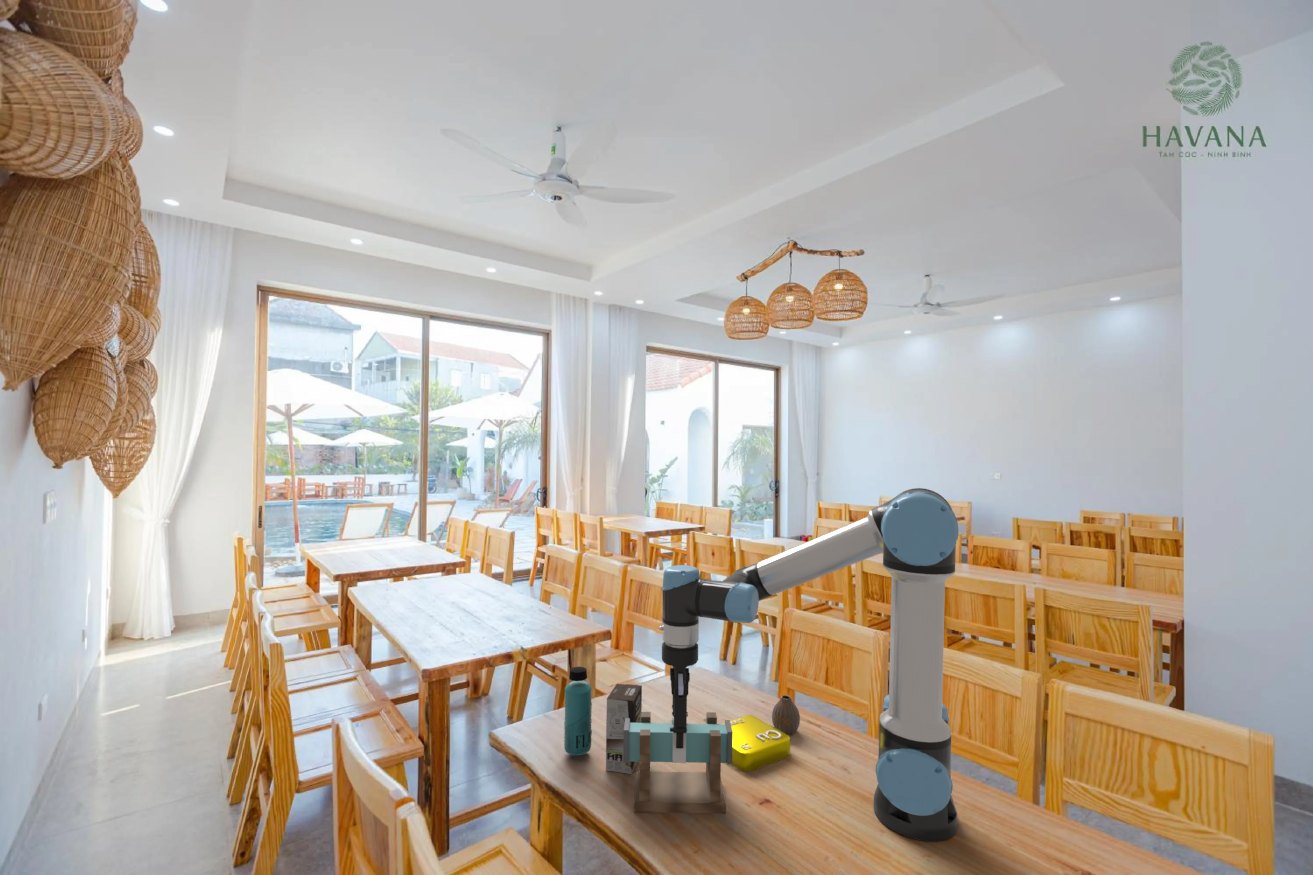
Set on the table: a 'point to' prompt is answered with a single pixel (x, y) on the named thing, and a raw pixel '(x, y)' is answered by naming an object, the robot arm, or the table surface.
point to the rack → (680, 781)
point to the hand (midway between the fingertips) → (678, 755)
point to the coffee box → (621, 724)
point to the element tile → (757, 743)
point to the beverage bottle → (577, 713)
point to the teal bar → (664, 742)
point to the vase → (786, 716)
